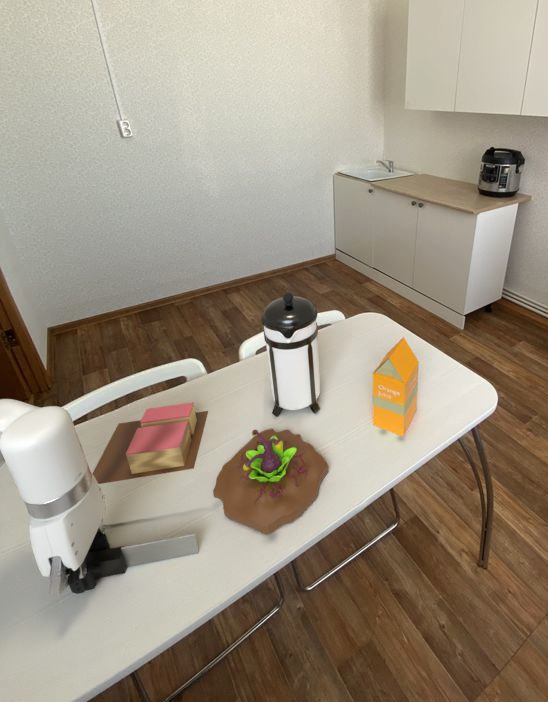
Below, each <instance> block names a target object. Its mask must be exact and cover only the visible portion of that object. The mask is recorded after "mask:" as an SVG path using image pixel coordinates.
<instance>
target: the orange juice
mask: <svg viewBox="0 0 548 702" xmlns="http://www.w3.org/2000/svg"><path fill="white" fill-rule="evenodd" d="M419 363H420V362H419V359H418V358H417V356H416V354H415V353H414V351H413V350H412V348H411V346H410V345H409V343H408V342H407V340H406V338H405V337H404V336H403V337H402V338H401V339H400V340H399V341H397V342H396V344H395V345H394V346H393V347H392V348H391V349H390V350H389V351H387V353H386V354H385V356H384V358H382V360H381V362H380V363H379V364H378V366H377V367H376V369H374V371H373V372H372V425H373V426H375V427H377V428H379V429H382V430H385V431H387V432H390V433H392V434H395V435H398V436H401V437H404V436H405V434H406V432H407V431H408V428H409V427H410V424H411V422H412V420H413V418H414V416H415V414H416V412H417V407H418V406H417V405H418V404H417V403H418V387H419V382H418V381H419Z"/></svg>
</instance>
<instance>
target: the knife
mask: <svg viewBox="0 0 548 702" xmlns="http://www.w3.org/2000/svg"><path fill="white" fill-rule="evenodd" d="M199 551H200V550H199V547H198V541H197V539H196V535H195V532H193V533H188V534H182V535H177V536H173V537H167V538H162V539H156V540H151V541H146V542H141V543H135V544H130V545H121V546H115V547H110V549H104V550H99V551H94V552H89V553H87V555H86V557H85V562H86V567H87V568H91V570H92V573H93V575H94V578H95V580H97V579H103V578H108V577H112V576H113V577H114V576H117V575H123V574H126V572H127V568H131V567H135V566H140V565H141V566H142V565H145V564H151V563H156V562H160V561H165V560H171V559H175V558H181V557H186V556H190V555H195V554H199ZM70 570H72V568H70ZM49 577H51V575H50V576H49Z"/></svg>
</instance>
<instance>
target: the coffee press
mask: <svg viewBox="0 0 548 702" xmlns="http://www.w3.org/2000/svg"><path fill="white" fill-rule="evenodd" d="M317 318H318V309H317V307H316V306H315V305H314V304H313V303H312V301H311V300H309V299H307V298H304V297H301V296H297V295H296V296H295V295H293V294H292V293H290V292H286V293H284V295H283V297H279V298H276V299H275V300H273V301H271V302H269V304H268V305H267V306H266V307H265V308H264V310H263V312H262V314H261V315H260V320H261V324H262V325H263V339H264V342H265V346H266V355H267V362H268V363H267V364H268V372H269V380H270V389H271V396H272V400H273V402H274V406H273V408H272V412H271V414H272V415H273V416H274V417H275V418H279V416H280V415H281V413H282V411H283V410H287V411H297V410H298V411H299V410H302V409H305V408H307V407H309V409H310V410H311V412H312V413H313V414H317V413H318V412H319V411H320V410H321V409H320V406H319V404H318V402H317V400H318V398H319V396H320V393H321V376H320V360H319V359H320V358H319V344H318V342H319V341H318V335H319V330H318V329H319V328H318V323H317V322H318V321H317Z"/></svg>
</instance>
